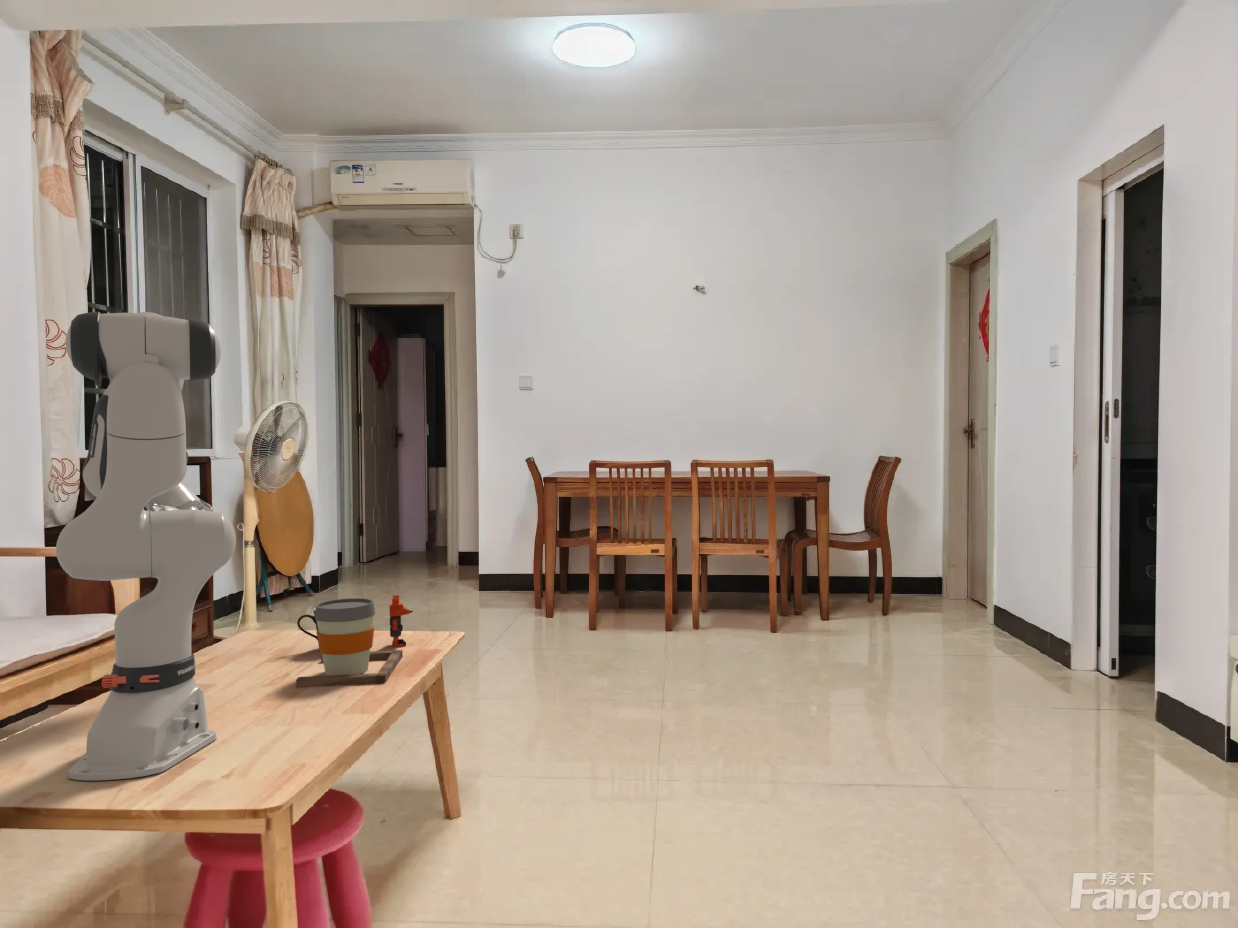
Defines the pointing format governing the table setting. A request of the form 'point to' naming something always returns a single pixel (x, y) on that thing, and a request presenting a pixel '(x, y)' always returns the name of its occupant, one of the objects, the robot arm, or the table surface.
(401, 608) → the toy animal
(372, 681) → the walnut bay
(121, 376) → the robot arm
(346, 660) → the reusable coffee cup
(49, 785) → the table surface
